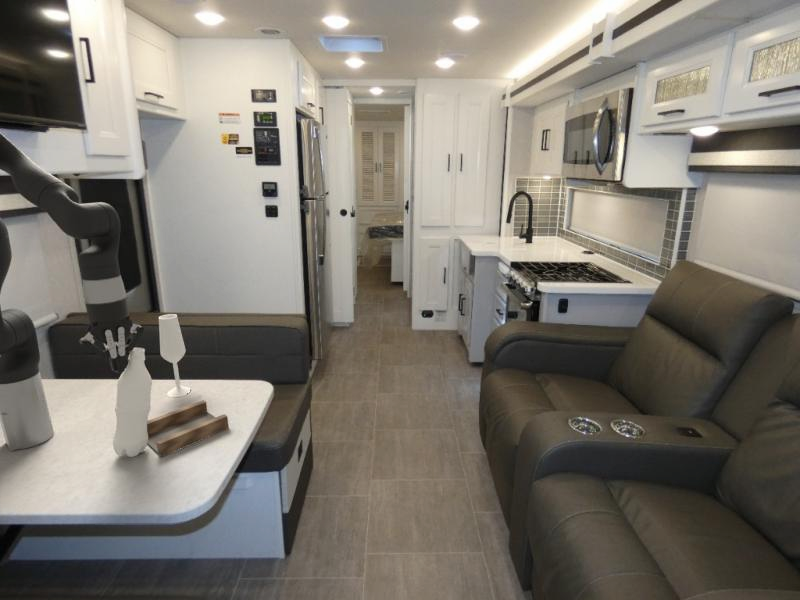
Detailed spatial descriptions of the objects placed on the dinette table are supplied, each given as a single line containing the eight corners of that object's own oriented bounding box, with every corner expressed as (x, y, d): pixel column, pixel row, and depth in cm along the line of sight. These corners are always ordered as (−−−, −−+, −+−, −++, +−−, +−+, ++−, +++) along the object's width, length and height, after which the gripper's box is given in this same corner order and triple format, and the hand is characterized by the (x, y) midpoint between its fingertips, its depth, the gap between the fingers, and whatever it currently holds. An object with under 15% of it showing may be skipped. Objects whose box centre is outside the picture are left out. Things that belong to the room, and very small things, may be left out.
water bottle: (131, 461, 107) (139, 355, 104) (104, 455, 108) (111, 349, 105) (154, 449, 114) (161, 349, 111) (128, 443, 115) (135, 343, 112)
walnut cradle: (161, 457, 110) (159, 444, 109) (139, 436, 118) (137, 424, 117) (228, 428, 122) (227, 416, 121) (204, 411, 131) (203, 400, 130)
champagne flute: (189, 385, 147) (179, 311, 140) (192, 393, 141) (181, 317, 134) (166, 390, 143) (154, 315, 137) (168, 399, 138) (155, 321, 131)
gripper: (132, 288, 108) (144, 358, 113) (64, 300, 99) (80, 376, 104) (144, 294, 103) (156, 366, 108) (75, 307, 94) (91, 386, 99)
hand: (119, 371), depth 106 cm, fingers closed
